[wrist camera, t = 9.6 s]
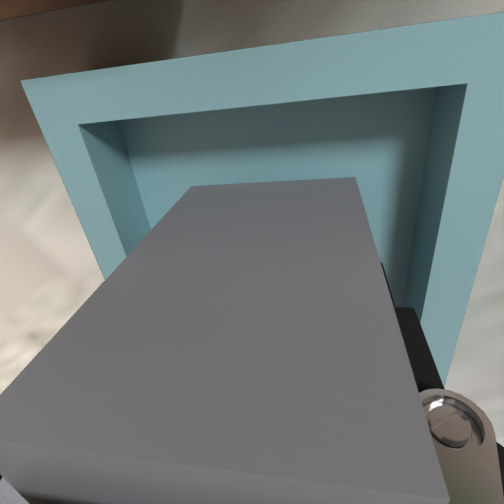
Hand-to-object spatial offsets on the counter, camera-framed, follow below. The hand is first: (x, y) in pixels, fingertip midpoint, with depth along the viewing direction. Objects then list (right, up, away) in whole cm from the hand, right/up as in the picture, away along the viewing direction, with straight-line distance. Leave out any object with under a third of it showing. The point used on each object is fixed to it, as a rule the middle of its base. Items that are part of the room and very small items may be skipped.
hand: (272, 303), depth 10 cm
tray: (0, +2, +3) cm, 4 cm away
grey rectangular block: (0, +1, +1) cm, 2 cm away
